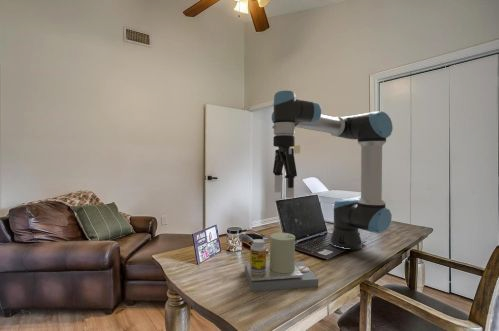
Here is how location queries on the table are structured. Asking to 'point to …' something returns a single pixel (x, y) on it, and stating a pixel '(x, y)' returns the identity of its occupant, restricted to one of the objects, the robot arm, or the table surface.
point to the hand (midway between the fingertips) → (283, 194)
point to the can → (282, 252)
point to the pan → (271, 273)
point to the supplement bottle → (258, 256)
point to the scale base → (285, 280)
